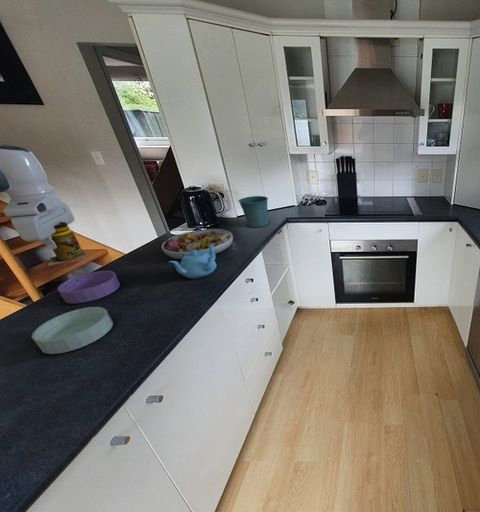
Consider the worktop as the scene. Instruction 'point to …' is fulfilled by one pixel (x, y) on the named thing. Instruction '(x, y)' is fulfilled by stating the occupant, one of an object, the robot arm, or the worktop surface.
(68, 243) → the condiment
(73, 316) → the celadon bowl
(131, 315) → the worktop surface
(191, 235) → the bowl
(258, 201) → the flower pot
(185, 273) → the teapot
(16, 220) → the robot arm
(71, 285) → the lavender bowl
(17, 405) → the worktop surface
